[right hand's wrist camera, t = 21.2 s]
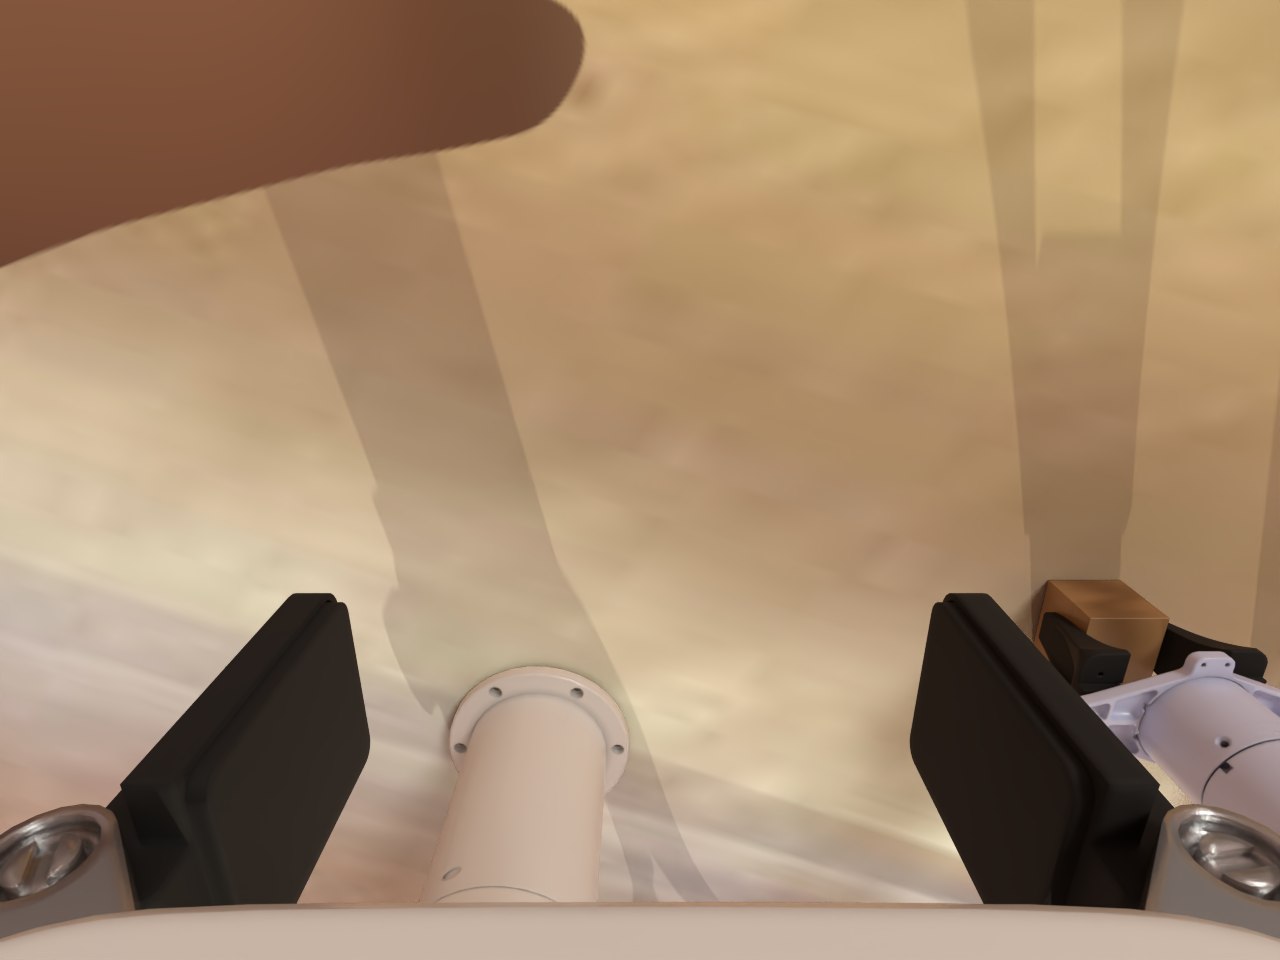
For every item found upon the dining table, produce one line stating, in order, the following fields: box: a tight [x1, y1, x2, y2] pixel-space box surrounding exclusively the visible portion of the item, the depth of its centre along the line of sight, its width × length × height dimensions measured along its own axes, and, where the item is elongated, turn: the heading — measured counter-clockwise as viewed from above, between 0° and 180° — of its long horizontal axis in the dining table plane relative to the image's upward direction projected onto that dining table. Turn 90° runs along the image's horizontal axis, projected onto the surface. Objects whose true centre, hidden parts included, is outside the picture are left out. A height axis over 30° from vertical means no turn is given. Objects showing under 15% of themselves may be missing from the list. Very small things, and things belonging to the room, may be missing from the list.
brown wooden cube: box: [1033, 580, 1169, 685], centre depth 45 cm, size 5×5×5 cm
